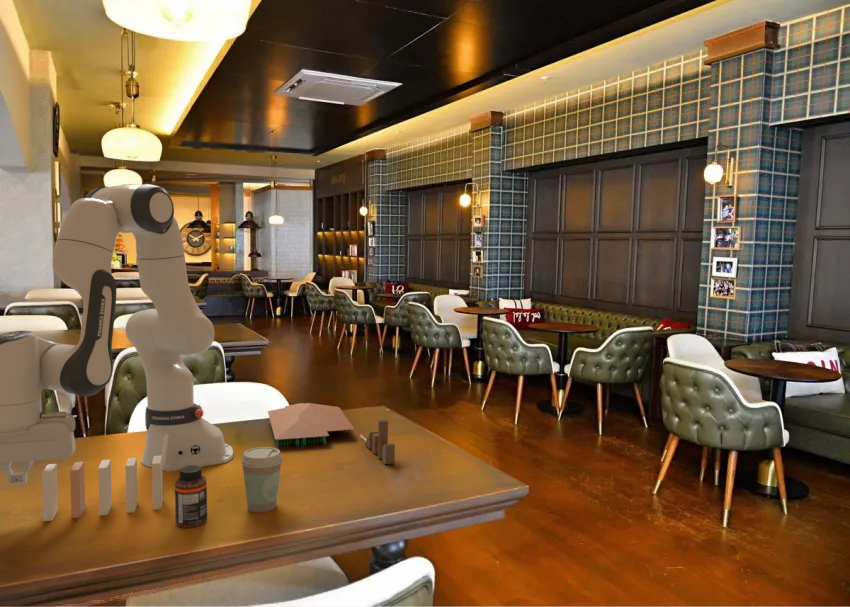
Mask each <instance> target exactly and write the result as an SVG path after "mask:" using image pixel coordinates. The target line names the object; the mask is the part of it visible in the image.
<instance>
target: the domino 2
mask: <svg viewBox="0 0 850 607" xmlns="http://www.w3.org/2000/svg"><path fill="white" fill-rule="evenodd" d="M97 470H98V472H97V473H98V477H97V478H98V482H97V483H98V512H99V514H98V516H107V515H109V514H110V510H111V508H112V506H113V504H112V500H113V499H112V461H111V459H102V460H101V462H100V464H99V466H98V469H97Z"/></svg>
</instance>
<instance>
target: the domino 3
mask: <svg viewBox="0 0 850 607" xmlns="http://www.w3.org/2000/svg"><path fill="white" fill-rule="evenodd" d="M137 463H138V457H128V459H127V461H126V464H125V502H126V503H125V505H126V506H125V507H126V508H125V509H126V510H125V512H126V513H127V514H129V513H135V512H136V509H137V505H138V464H137Z"/></svg>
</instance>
